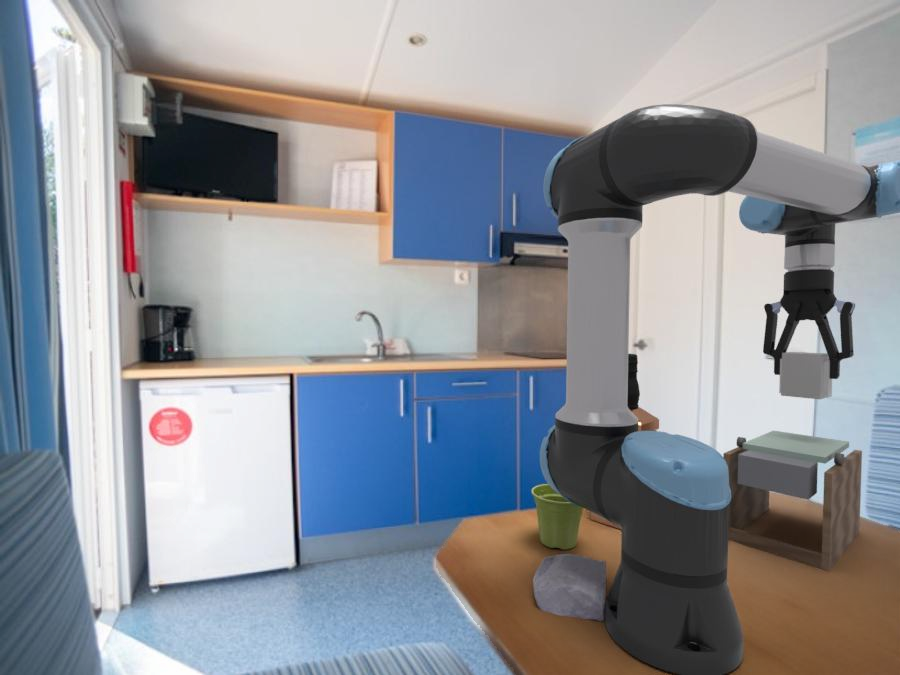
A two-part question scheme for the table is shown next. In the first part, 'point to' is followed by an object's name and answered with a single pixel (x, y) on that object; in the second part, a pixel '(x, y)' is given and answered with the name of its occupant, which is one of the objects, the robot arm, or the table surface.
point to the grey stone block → (803, 374)
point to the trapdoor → (786, 462)
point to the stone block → (571, 586)
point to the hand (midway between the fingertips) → (804, 394)
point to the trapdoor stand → (837, 511)
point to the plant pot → (556, 518)
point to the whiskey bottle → (644, 418)
